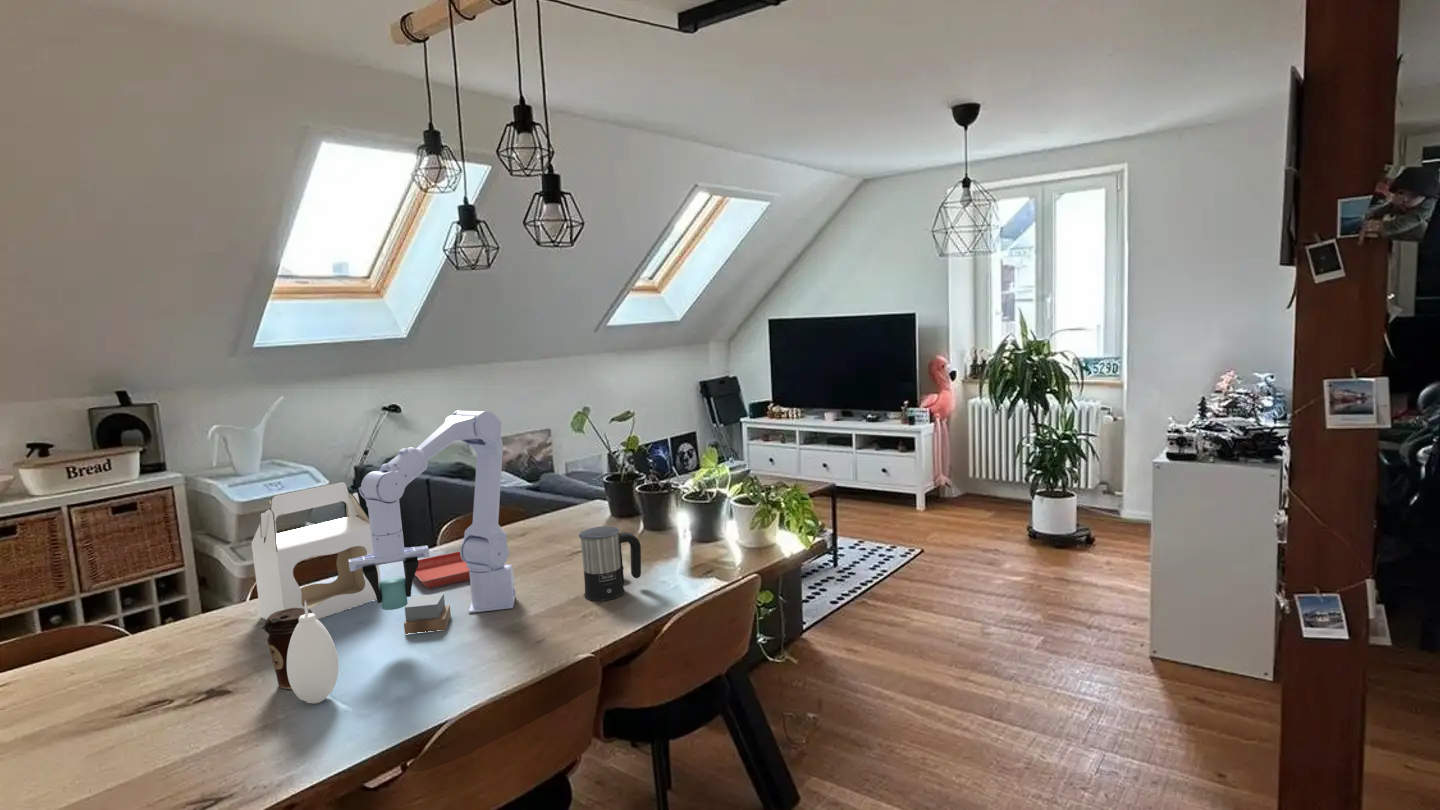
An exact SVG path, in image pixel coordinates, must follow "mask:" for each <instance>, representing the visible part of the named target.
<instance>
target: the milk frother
mask: <svg viewBox="0 0 1440 810" xmlns="http://www.w3.org/2000/svg"><path fill="white" fill-rule="evenodd" d="M578 538H579V539H580V543H581V555H582V566H583V577H584V578H583V579H584V593H583V596H584V598H585V599H587V600H590V601H597V602H599V601H600V602H603V601H609V600H614V599H617V598H619V597H621V596H623V594H624V593H625V591H626V590H625V588H624V585H625V578H624V577H625V576H624V564H623V553H622V544H623V543H628V544H629V545H630V546H629V548H630V551H629V552H630V574H631V576H632V577H633V578H634V579H640V577H641V575H642V565H641V564H642V555H641V553H642V546H641V542H640V540H639V539H638V538H639V537H637V536H635V534H633V533H630V532H627V531H624V532H620V528H618V527H616V526H606V525H605V526H595V527H589V528H586V529H584V530H581V531H580V532H579V533H578Z"/></svg>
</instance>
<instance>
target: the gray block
mask: <svg viewBox="0 0 1440 810" xmlns="http://www.w3.org/2000/svg"><path fill="white" fill-rule="evenodd" d="M445 601H446V599H445V593H444V592H443V593H435V594H433V593H432V594H424V595H414V596H411V597H410V599H409V601H407V602H408V604H407V605H406V606H404V614H405V620H406V621H414V620H425V619H435V618H439V616H440V615H441V613H442V611H443V610H444V608H445V606H446V603H445Z"/></svg>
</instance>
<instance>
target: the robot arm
mask: <svg viewBox="0 0 1440 810" xmlns="http://www.w3.org/2000/svg"><path fill="white" fill-rule="evenodd" d="M501 431H502V420H501V419H500V418H499V417H498V416H497V415H496V414H495V413H494V412H493V411H490V410H484V411H482V410H481V411H480V410H465V409H458V410H455V411H454V412H453V413H452V414H451V415H448V416H447V417H446V418H445V419H444V422H443V424H441V425H440V426H439V427H438V428H437V429H436V430H434V431H433V432H432V433H431V434H430V435H429V436H428V437H426V439H424V441H422V442H421V443H420V444H418V446H416V447H411V446H409V447H407V448H406V447H405V448H404V447H403V448H401V449H399V450H398V454H397V455H396V456H395V457H393V458H392V459H390V461H388V462H387V463H383V464H382V465H380V468H379V470H375V471H371V472H368V473H367V474H366V475H365V476H364V477H363V479H362V480H361V484H360V487H358V491H359V494H360V496H361V497H362V498H363V499H364V500H365V503H366V504H365V505H366V508H367V511H368V517H369V522H370V530H371V539H372V548H373V554H369V555H365V556H362V557H358V558H354V559H349V568H350V572H351V571H356V569H362V570H363V573H364V575H365V577H366V578H367V580H368V581H369V583H370V584H371V586H372V588H373V590H374V592H375V594H376V598H377V600H376V601H377V604H381V602H382V601H381V595H380V590H379V582H378V572H377V568H376V566H378V565H379V566H382V565H388V564H392V563H399V562H402V565H403V571H404V578H405V583H406V592H407V598H409V597H410V598H412V587H413V581H414V578H415V572H416V570H417V568H418V564H419V562H418V560H419V559H420V558H421V559H422V558H423V559H425V558H430V549H429V547H428V545H421V546H411V547H405V543H404V542H405V541H404V533H403V525H402V517H401V516H402V515H401V505H400V499H401V498H402V497H403V496H404V495H403V494H404V493H405V489H406V487H407V486H408V485H409V484H410V483H411V482H412V481H413V480H415V479H417V477H419V476H420V475H421V474H422V473H423V472H424V471H427V468H428V465H429V464H428V463H429V460H430V459H432V458H434V456H436V455H437V454H439V453H441V452H442V451H443V450H445V449H446V448H448V447H449V446H450V445H452V444H453V443H455V442H456V441H461V442H463V443H466V444H467V445H469V446H470V447H471V449H472V450H473V451H474V452H475V453H476V466H475V477H474V478H475V480H474V481H475V482H474V496H473V510H472V511H473V512H472V523H471V524H470V526H468V527H467V528H466V529H465V531H464V536H463V540H462V543H461V545H460V548H459V552H460V556H461V558H462V560H463V561H464V562H466V563H467V568H469V575H470V580H469V582H470V583H469V585H470V593H471V596H470V597H471V603H470V605H469V609H468V613H469V614H473V613H482V612H489V611H498V610H500V611H501V610H506V609H513V608H514V605H515V600H516V593H517V592H516V588H515V580H514V568H513V565H512V564H506V562H507V560H508V558H509V554H510V550H509V545H508V542H507V536H508V535H507V532H506V531H505V530H504V529H503V528H502V527H501V525H500V524H499V516H500V499H501V485H502V472H503V471H502V467H503V453H504V451H503V450H504V444H503V440H502V439H503V438H502V436H501V434H502V432H501Z"/></svg>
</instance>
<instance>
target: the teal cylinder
mask: <svg viewBox="0 0 1440 810" xmlns="http://www.w3.org/2000/svg"><path fill="white" fill-rule="evenodd" d="M379 589H380V595H381V601H382V602H381V603H380V605H381V610H384V611H393V610H397V609H398V610H399V609H402V608H405V606H406V605H407V604H408V602H409V601H408V597H407V592H406V583H405V577H403V576H394V577H393V576H392V577H388V578H385V579H383V580H381V581H380V582H379Z"/></svg>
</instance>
